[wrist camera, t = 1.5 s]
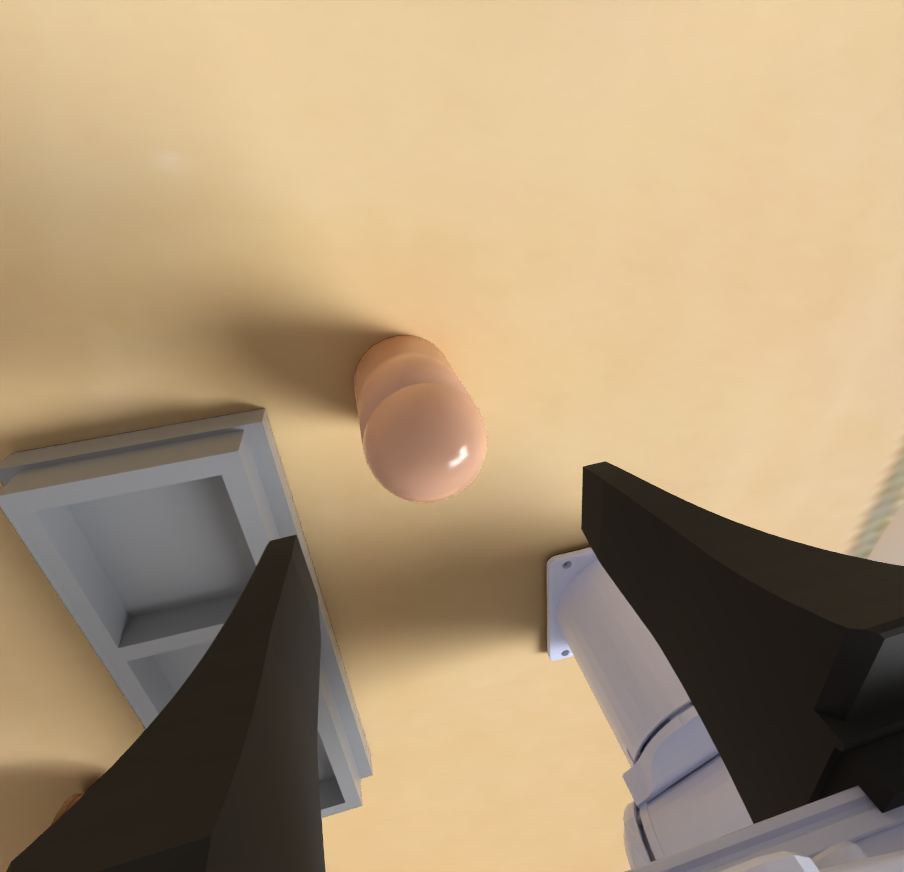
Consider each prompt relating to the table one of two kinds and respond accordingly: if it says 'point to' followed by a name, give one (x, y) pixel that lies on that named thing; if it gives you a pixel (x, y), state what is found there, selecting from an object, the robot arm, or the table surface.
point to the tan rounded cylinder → (417, 421)
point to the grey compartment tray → (174, 560)
